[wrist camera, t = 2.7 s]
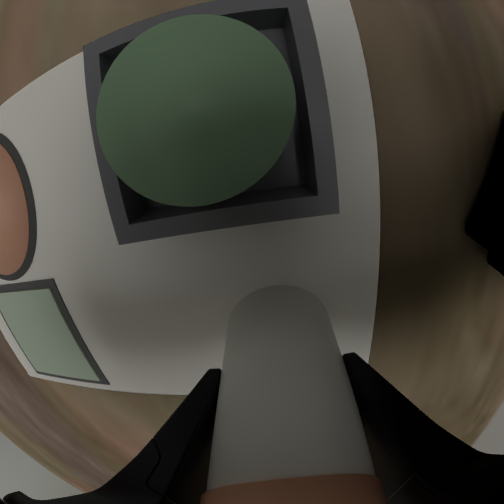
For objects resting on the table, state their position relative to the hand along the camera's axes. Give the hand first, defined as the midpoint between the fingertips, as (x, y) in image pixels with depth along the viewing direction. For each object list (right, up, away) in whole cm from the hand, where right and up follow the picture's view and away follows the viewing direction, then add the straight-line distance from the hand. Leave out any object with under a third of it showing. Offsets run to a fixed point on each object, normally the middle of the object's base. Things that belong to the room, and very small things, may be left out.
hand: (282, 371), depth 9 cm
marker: (0, +1, +2) cm, 2 cm away
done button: (-2, +7, -3) cm, 8 cm away
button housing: (-2, +8, -1) cm, 8 cm away
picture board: (-7, +4, +2) cm, 9 cm away
